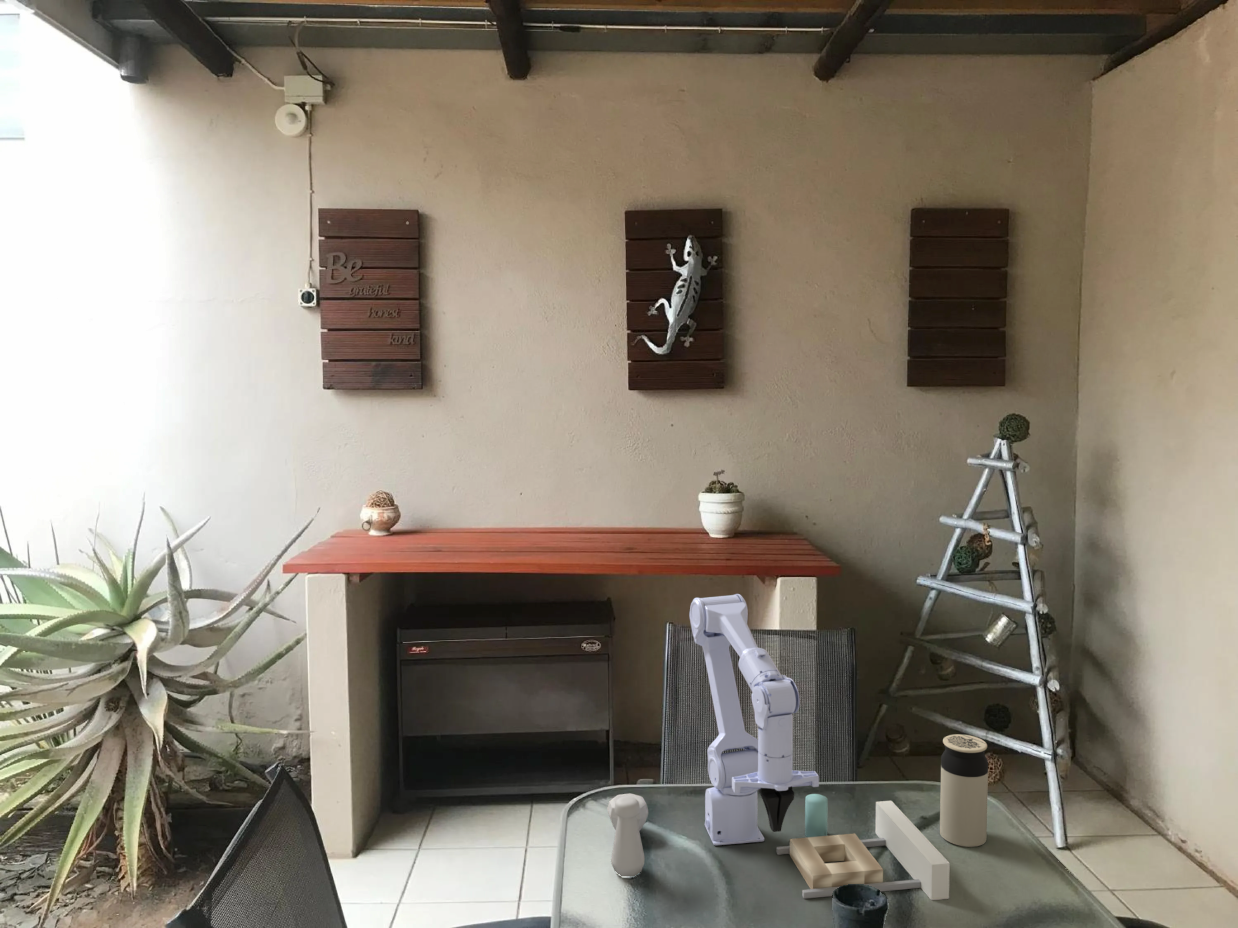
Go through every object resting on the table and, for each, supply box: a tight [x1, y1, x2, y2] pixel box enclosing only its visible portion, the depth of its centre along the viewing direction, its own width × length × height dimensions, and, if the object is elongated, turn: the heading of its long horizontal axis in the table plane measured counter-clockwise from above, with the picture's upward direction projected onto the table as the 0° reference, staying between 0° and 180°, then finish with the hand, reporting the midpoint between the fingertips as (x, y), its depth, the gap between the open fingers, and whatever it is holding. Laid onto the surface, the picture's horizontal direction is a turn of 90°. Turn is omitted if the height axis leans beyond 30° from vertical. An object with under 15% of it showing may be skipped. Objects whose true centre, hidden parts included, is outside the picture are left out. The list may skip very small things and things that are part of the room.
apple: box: [606, 793, 649, 832], centre depth 170 cm, size 8×8×7 cm
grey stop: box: [776, 800, 951, 901], centre depth 156 cm, size 23×22×6 cm
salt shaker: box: [610, 796, 646, 876], centre depth 156 cm, size 6×6×13 cm
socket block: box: [789, 833, 884, 889], centre depth 156 cm, size 12×12×3 cm
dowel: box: [804, 793, 828, 838], centre depth 168 cm, size 4×4×7 cm
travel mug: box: [939, 733, 989, 848], centre depth 166 cm, size 8×8×18 cm
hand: (775, 828), depth 154 cm, fingers closed
